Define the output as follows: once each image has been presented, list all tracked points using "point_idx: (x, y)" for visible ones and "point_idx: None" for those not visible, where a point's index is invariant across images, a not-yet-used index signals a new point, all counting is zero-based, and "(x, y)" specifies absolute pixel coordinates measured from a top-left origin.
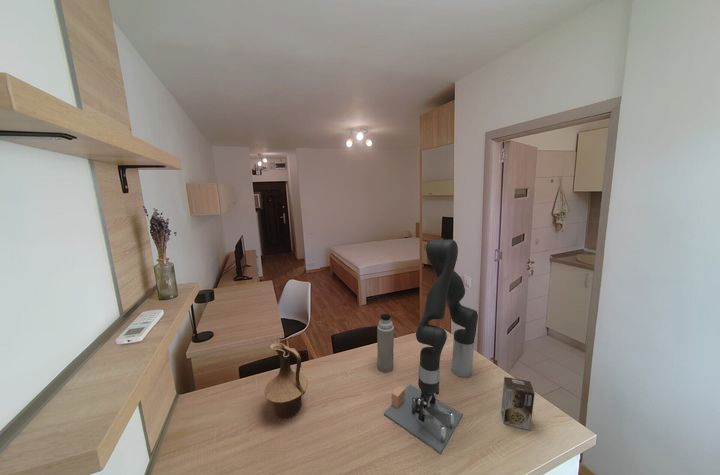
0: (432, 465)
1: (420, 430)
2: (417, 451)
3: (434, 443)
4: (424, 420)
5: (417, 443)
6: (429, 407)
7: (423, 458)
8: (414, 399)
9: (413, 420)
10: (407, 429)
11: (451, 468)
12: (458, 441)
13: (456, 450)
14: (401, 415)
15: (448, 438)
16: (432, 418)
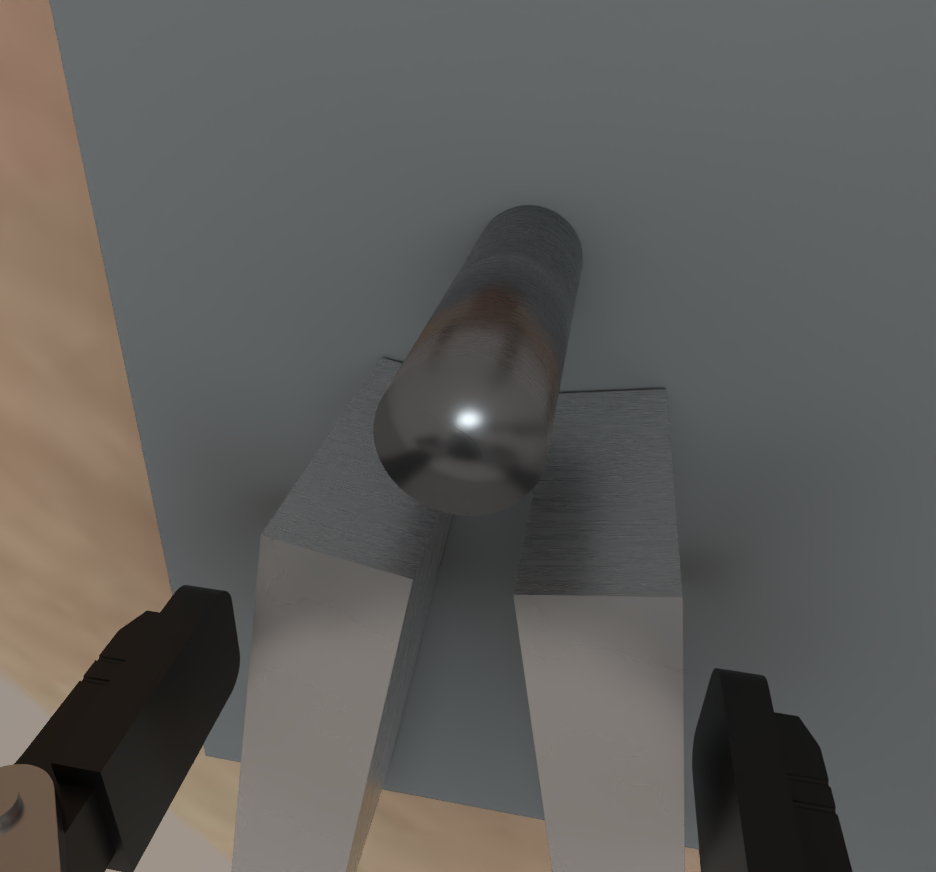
0: (52, 691)
1: (268, 499)
2: (29, 534)
3: (242, 691)
4: (225, 692)
5: (109, 501)
6: (539, 765)
7: (28, 608)
8: (455, 449)
9: (346, 334)
10: (116, 318)
11: (178, 816)
12: (501, 846)
13: (381, 837)
14: (267, 46)
15: (431, 796)
16: (290, 860)
